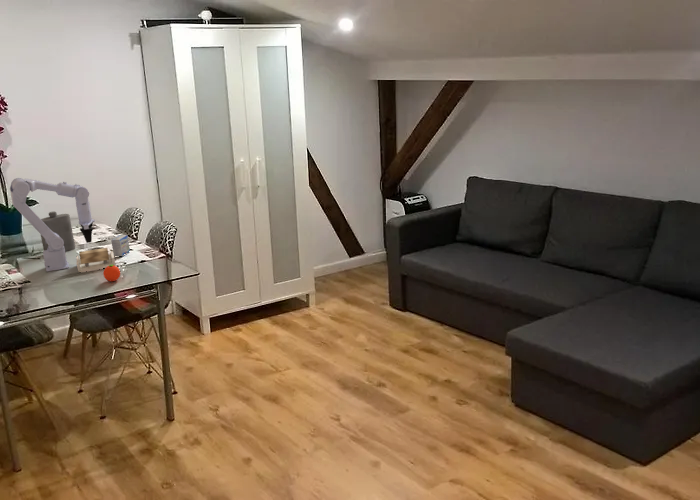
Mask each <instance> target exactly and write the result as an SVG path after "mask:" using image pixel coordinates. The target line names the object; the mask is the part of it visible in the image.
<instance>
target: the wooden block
mask: <svg viewBox="0 0 700 500" xmlns="http://www.w3.org/2000/svg"><path fill="white" fill-rule="evenodd" d="M78 254H79V255H78V256H79V259H80V260H81V264H84V263H91V262H97V261H104V260H109V256H108V254H109V250H108V247H105V248H97V249H96V248H95V249H90V250H84V251H82V250H81V251H79V252H78Z"/></svg>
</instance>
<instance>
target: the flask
mask: <svg viewBox="0 0 700 500" xmlns="http://www.w3.org/2000/svg"><path fill="white" fill-rule="evenodd" d="M70 215H71V214H69V213H62V214H57V212H56V211H49V212H48V216H47V217H44V218H40V219H41V220H42V221H43V222H44V223H45V224H46V225H47V226H48V228H49V229H50V230H51V231H52V232H54V233H57V234H58V235H59V237H60V238H62V239H63V241H64V248H65V252H69V251H74V250H75V249H76V244H75V238H74V232H73V228H72V227H73V226H72V222H71V217H70ZM40 238H41V243H42V248H43V251H44V250H47V248H48V246H49V245H48V244H47V243H46V241H45V238H44V237H43V236H42V235H41V234H40Z"/></svg>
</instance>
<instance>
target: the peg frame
mask: <svg viewBox="0 0 700 500" xmlns="http://www.w3.org/2000/svg"><path fill="white" fill-rule="evenodd" d="M108 256H109V260H104V261H97V262H91V263H84V264H81V260H80V255H77V256H76V259H75V260H76V266H77V272H78V273H79V272H81V273H85V272H86V271H87V272H92V271H98V270H99V269H100V270H104V269H103V268H106V267H107V266H110V265H114V266H116V262H115V261H116V260H115V257H114V254H113V250H110V253H108ZM100 270H99V271H100ZM87 272H86V273H87ZM79 274H80V273H79Z"/></svg>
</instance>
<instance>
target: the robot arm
mask: <svg viewBox="0 0 700 500" xmlns="http://www.w3.org/2000/svg"><path fill="white" fill-rule="evenodd" d="M9 190H10V196H11V197H10V198H11V203H12V206H13V207H14V208H15V209H16V210H17V211H18V212H19V213H20V214H21V216H22V217H24V218H25V220H26V221H27V222H29V224H30V225H31V226H32V227H33V228H34V229H35V230H36V231H37V232H38V233H39V234H40V236H41V235H42V236H43V237H44V238H45V241H46V243H47V244H48V245H49V246H48V248H47V250H44V249H43V250H42V254H43V263H44V267H45V270H46V272H51V271H58V270H63V269H64V270H65V269H69V264H70V263H69V262H68V259H67V255H66V251H65V248H64V241H63V239H62V238H60V237H59V235H58V234H57V233H54V232H52V231H51V230H50V229H49V228H48V226H47V225H46V224H45V223H44V222H43V221H42V220H41V219H42V218H40V217H39V216H38V215H37V214H36V212H34V210H33V209H32V208H31V207H30V206H29V205H28V204H27V203H26V202H27V197H28V195H29V193H30V192H34V191H37V190H40V191H41V190H42V191H47V192H48V191H49V192H55V193H56V194H57V195H58V196H62V197H68V198H75V206H76V212H77V217H78V224H79V226H80V227H81V228H79V231H80V232H81V234H82V236H83V238H84V240H85V243H86V244H88V243H92V232H93V230H94V227H93V225H94V223H95V222H96V220H95V219H93V216H92V211H91V206H90V201H89V197H90V191H89V190H88V189H87V188H86V187H84V186H83V185H80V184H77V183H75V184H72V183H67V181H62V182H59V183H57V184H54V183H51V182H47V181H41V180H37V179H32V178H22V177H17V178H14V179H13V180H11V183H10V186H9Z"/></svg>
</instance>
